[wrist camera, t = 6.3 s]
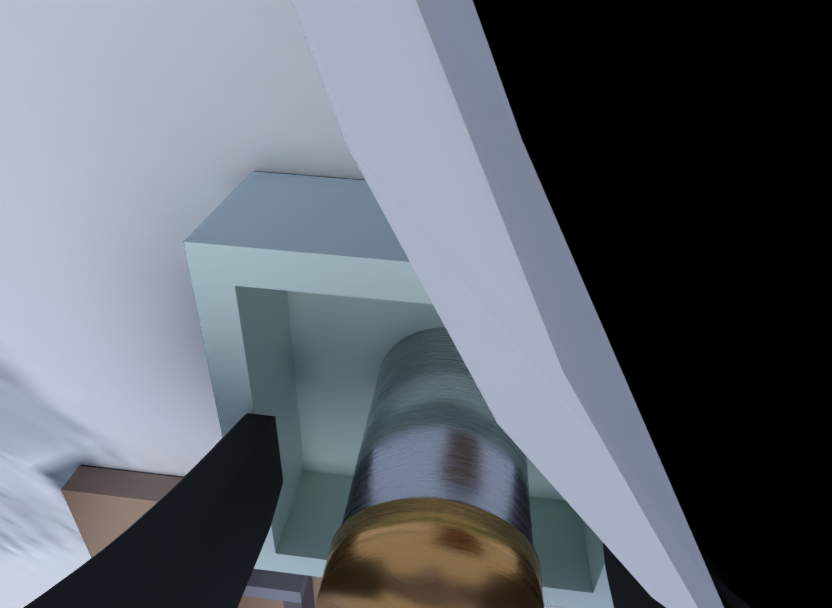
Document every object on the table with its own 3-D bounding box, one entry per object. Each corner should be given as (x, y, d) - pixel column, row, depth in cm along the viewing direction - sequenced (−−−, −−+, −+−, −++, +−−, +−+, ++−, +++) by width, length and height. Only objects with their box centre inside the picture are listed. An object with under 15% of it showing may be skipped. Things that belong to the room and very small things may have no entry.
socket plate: (375, 500, 18) (362, 562, 17) (374, 655, 24) (364, 715, 22) (79, 465, 19) (36, 522, 17) (144, 624, 25) (116, 680, 23)
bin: (694, 206, 12) (759, 292, 9) (596, 500, 17) (618, 614, 14) (252, 171, 13) (183, 241, 10) (287, 465, 18) (248, 567, 15)
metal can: (503, 450, 16) (511, 697, 11) (366, 423, 16) (308, 656, 10) (544, 341, 13) (578, 583, 8) (385, 309, 13) (325, 532, 8)
